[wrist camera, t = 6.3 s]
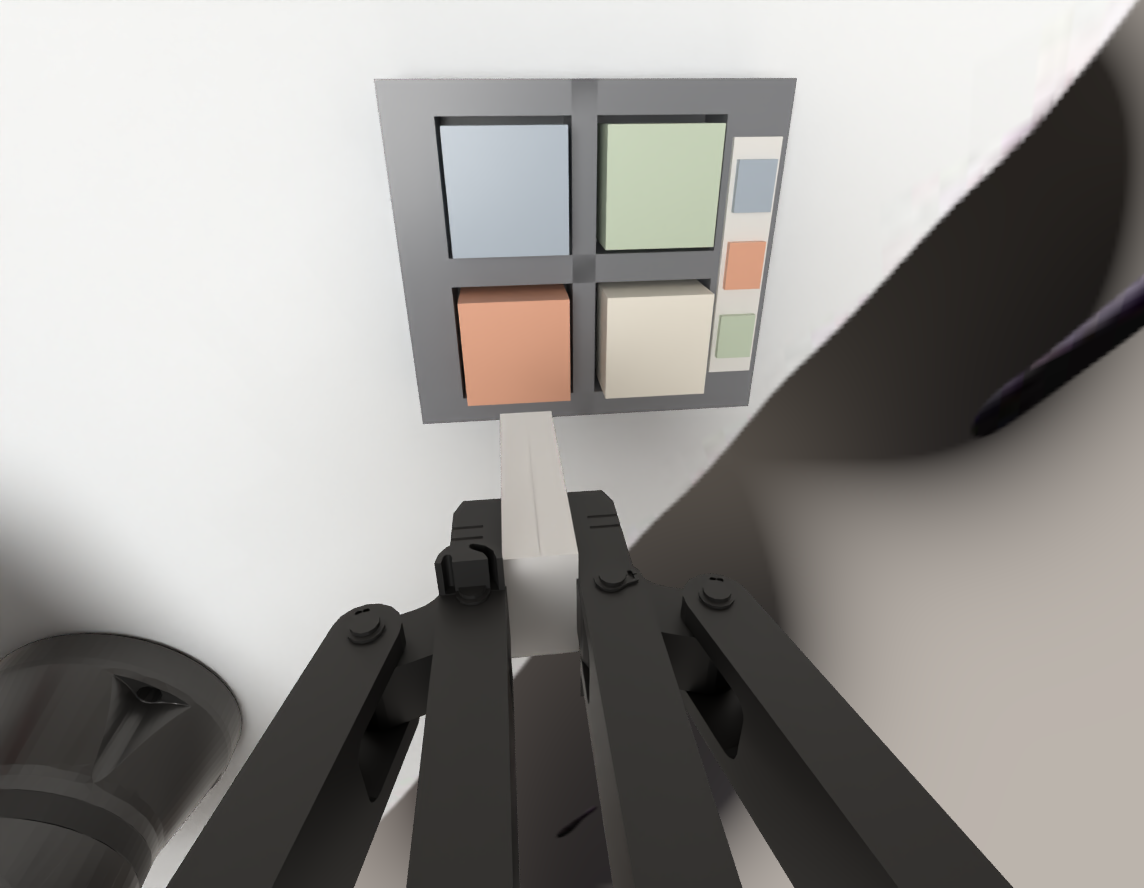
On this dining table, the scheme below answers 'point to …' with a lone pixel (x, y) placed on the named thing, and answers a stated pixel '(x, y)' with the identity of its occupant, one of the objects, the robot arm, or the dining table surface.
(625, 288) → the key cream
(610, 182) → the key sage
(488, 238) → the key slate
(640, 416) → the dining table surface
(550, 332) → the key terracotta
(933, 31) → the dining table surface
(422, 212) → the keypad
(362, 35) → the dining table surface
